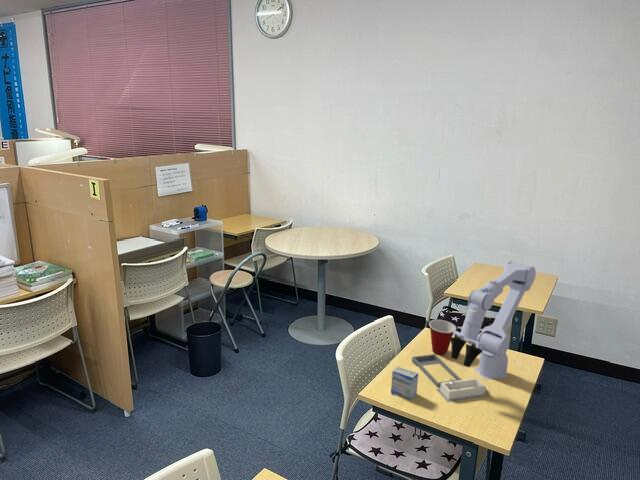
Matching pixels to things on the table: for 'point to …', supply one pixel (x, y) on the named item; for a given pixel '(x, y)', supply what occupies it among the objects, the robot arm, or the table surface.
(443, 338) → the plastic cup
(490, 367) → the robot arm
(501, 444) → the table surface
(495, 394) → the table surface
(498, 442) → the table surface
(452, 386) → the stake base
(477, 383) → the cream rectangular sleeve
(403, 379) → the medicine box
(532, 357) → the table surface
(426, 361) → the tray
